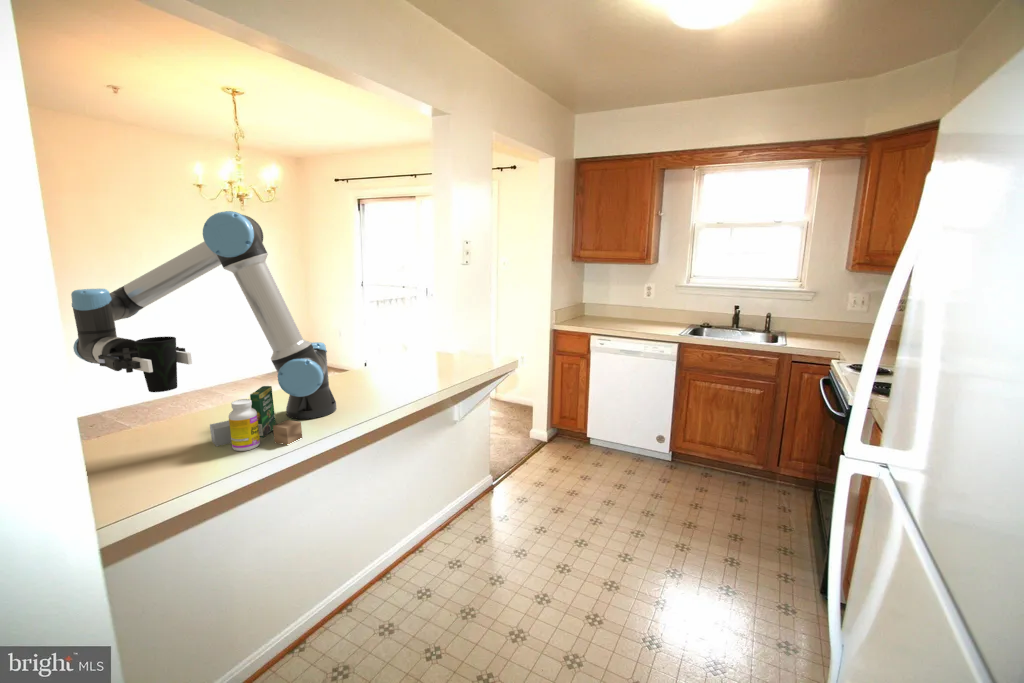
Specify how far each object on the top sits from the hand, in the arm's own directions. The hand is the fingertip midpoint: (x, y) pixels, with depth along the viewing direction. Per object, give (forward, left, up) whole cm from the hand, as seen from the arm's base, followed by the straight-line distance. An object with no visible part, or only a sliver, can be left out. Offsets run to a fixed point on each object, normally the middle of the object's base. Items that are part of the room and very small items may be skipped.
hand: (170, 362), depth 108 cm
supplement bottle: (-15, -3, -27) cm, 31 cm away
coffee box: (-23, -9, -27) cm, 37 cm away
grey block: (-13, -12, -27) cm, 32 cm away
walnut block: (-24, +2, -27) cm, 36 cm away
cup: (+1, -5, -7) cm, 9 cm away
